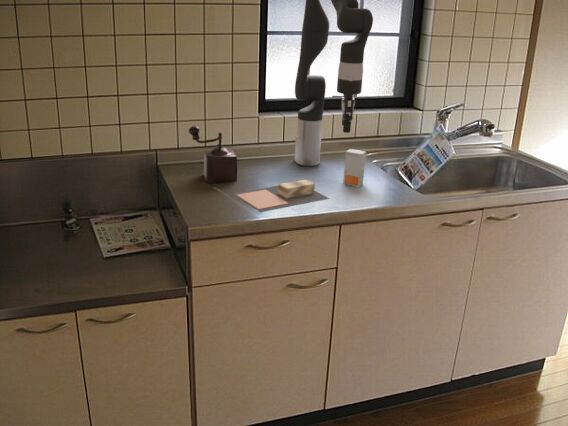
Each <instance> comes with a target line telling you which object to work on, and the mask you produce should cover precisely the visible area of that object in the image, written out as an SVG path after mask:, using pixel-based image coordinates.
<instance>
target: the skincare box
mask: <svg viewBox="0 0 568 426" xmlns="http://www.w3.org/2000/svg"><path fill="white" fill-rule="evenodd" d="M366 158H367V151H363V150H360V149H353V148H349V149H348V150H346V151H345V159H344V170H343V182H342V184H344V185H348V186H351V187H355V188H356V187H357V188H359V187H361V186H362V185H363V184H364V175H365V165H366Z"/></svg>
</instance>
